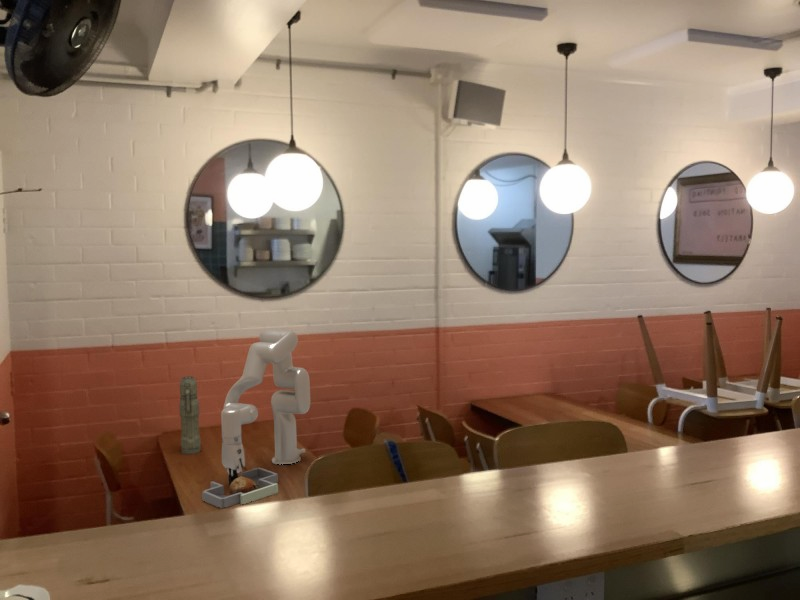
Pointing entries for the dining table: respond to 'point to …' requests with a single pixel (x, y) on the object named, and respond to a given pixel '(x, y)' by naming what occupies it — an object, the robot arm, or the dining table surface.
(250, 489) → the bread roll
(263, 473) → the channel
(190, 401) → the grey green carved statue
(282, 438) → the robot arm
